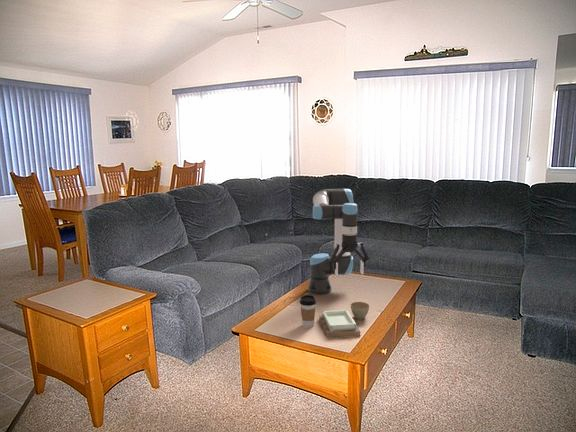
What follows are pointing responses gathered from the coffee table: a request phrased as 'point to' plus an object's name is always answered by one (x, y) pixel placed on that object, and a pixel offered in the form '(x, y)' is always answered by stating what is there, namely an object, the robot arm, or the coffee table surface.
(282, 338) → the coffee table surface
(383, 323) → the coffee table surface
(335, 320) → the tray
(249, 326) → the coffee table surface
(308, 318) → the coffee cup
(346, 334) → the shelf board
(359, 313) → the flower pot
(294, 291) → the coffee table surface
